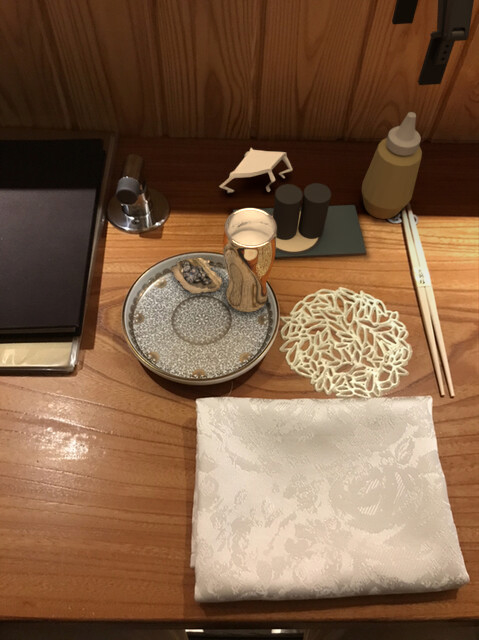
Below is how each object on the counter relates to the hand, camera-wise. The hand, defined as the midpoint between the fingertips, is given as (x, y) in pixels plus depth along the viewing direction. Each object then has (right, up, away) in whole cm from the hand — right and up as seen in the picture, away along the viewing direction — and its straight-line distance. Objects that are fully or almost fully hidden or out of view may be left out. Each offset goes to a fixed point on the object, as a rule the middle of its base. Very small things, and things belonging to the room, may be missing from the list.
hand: (414, 51), depth 74 cm
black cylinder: (-12, -21, +15) cm, 28 cm away
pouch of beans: (-29, -29, +11) cm, 42 cm away
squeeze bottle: (0, -17, +19) cm, 25 cm away
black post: (-16, -21, +15) cm, 30 cm away
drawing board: (-14, -22, +15) cm, 30 cm away
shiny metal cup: (-22, -32, +9) cm, 40 cm away
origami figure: (-21, -13, +21) cm, 32 cm away
